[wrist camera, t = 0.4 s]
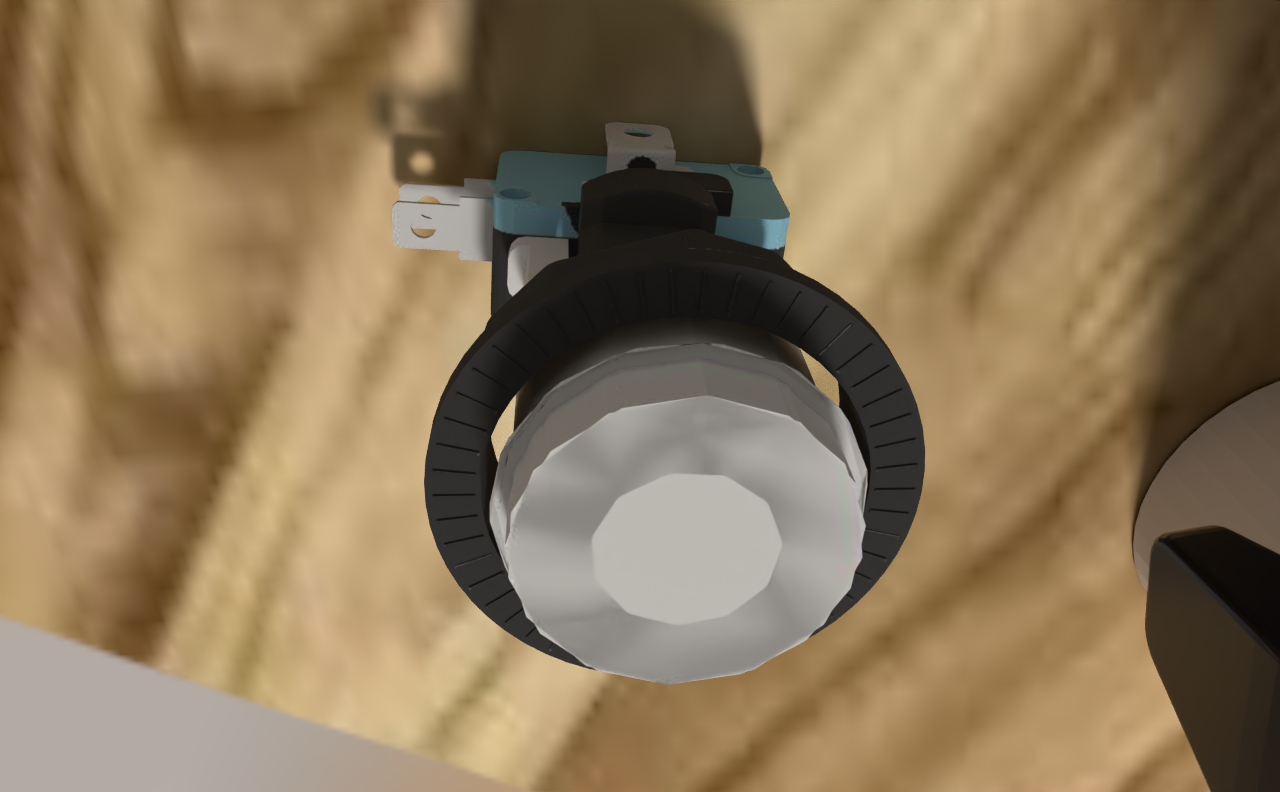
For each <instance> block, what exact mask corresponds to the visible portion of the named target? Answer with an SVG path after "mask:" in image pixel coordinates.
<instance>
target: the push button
mask: <svg viewBox="0 0 1280 792" xmlns="http://www.w3.org/2000/svg"><path fill="white" fill-rule="evenodd" d="M605 133H606V141H607V146H608V153H607V156H594V155H579V154H565V153H550V152H536V151H521V150H515V151H506V152H503V153H502V154H501V155H500V159H499V165H498V171H497V177H496V180H490V179H475V178H464V186H452V185H437V184H421V183H406V182H405V183H404V184H403V185H401V186H400V188H399V196H400V201H397V202H396V203H395V204H393V206H392V227H393V243H394V244H395V245H396V246H397V247H399V248H416V249H433V250H450V251H459V259H460V260H477V261H492V283H491V318H490V319H489V321H488V322H487V325H486V328H485V331H484V332H483V333H482V334H481V335H480V336H479V337H478V338H477V340H476V341H475V342H474V343H473V345H472V346H471V347H470V348H469V350H468V351H467V352H466V353H465V355H464V356H463V358H462V359H461V361H460V362H459V364H458V366H457V367H456V369H455V370H454V372H453V374H452V375H451V377H450V379H449V381H448V383H447V385H446V388H445V390H444V392H443V394H442V396H441V398H440V401H439V404H438V407H437V410H436V414H435V417H434V420H433V424H432V429H431V434H430V439H429V445H428V450H427V455H426V461H425V477H424V487H425V501H426V508H427V513H428V518H429V523H430V527H431V530H432V533H433V536H434V539H435V542H436V545H437V548H438V550H439V552H440V554H441V556H442V558H443V560H444V562H445V564H446V566H447V568H448V569H449V571H450V572H451V574H452V576H453V577H454V579H455V580H456V582H457V583H458V585H459V586H460V587H461V589H462V590H463V591H464V592H465V593H466V595H467V596H468V597H469V598H470V599H471V601H472V602H473V603H474V604H475V605H476V606H477V607H478V608H479V609H480V610H481V611H482V612H483V613H484V614H485V615H486V616H488V617H489V618H490V619H491V620H492V621H494V622H495V623H496V624H497V625H499V626H500V627H501V628H503V629H504V630H505V631H507V632H508V633H510V634H511V635H513V636H514V637H516V638H518V639H519V640H521V641H522V642H524V643H526V644H528V645H529V646H531V647H533V648H535V649H537V650H539V651H541V652H543V653H545V654H548V655H550V656H553V657H555V658H558V659H560V660H563V661H565V662H568V663H572V664H575V665H578V666H581V667H585V668H588V669H593V670H597V671H602V672H607V673H612V674H617V675H622V676H627V677H633V678H638V679H643V680H648V681H653V682H658V683H663V684H675V683H682V682H688V681H695V680H702V679H709V678H716V677H723V676H730V675H737V674H742V673H744V672H746V671H749V670H754V669H755V668H757V667H758V666H760V665H762V664H763V663H765V662H766V661H768V660H769V659H771V658H773V657H775V656H777V655H779V654H781V653H783V652H785V651H787V650H788V649H790V648H792V647H794V646H796V645H798V644H800V643H802V642H804V641H806V640H807V639H808V638H809V637H811V636H813V635H815V634H817V633H818V632H819V631H821V630H822V629H824V628H825V627H827V626H828V625H830V624H831V623H833V622H834V621H836V620H837V619H838V618H839V617H841V616H842V615H843V614H844V613H845V612H847V611H848V610H849V609H850V608H852V607H853V606H854V605H855V604H856V603H857V602H858V601H859V600H860V599H861V598H862V597H863V596H864V595H865V594H866V593H867V592H868V591H869V590H870V589H871V588H872V587H873V586H874V584H875V583H876V582H877V581H878V580H879V578H880V577H881V576H882V575H883V574H884V572H885V571H886V569H887V568H888V566H889V565H890V564H891V562H892V561H893V559H894V558H895V556H896V555H897V553H898V551H899V549H900V547H901V546H902V544H903V542H904V540H905V538H906V536H907V534H908V532H909V529H910V527H911V524H912V522H913V519H914V517H915V514H916V511H917V507H918V503H919V500H920V496H921V492H922V485H923V478H924V471H925V445H924V436H923V427H922V423H921V419H920V415H919V411H918V407H917V404H916V401H915V399H914V396H913V394H912V391H911V388H910V386H909V383H908V382H907V380H906V378H905V376H904V374H903V373H902V371H901V369H900V367H899V365H898V364H897V362H896V360H895V358H894V357H893V355H892V353H891V351H890V349H889V348H888V346H887V345H886V344H885V342H884V341H883V340H882V338H881V337H880V336H879V334H878V333H877V331H876V330H875V329H874V328H873V327H872V326H871V325H870V323H869V322H868V321H867V320H866V319H865V318H864V317H863V316H862V315H861V314H860V313H859V312H858V311H857V310H856V309H855V308H853V307H852V306H851V305H850V304H849V303H847V302H846V301H845V300H844V299H843V298H841V297H840V296H839V295H837V294H836V293H834V292H833V291H831V290H830V289H828V288H827V287H825V286H824V285H822V284H820V283H819V282H817V281H816V280H814V279H812V278H810V277H808V276H806V275H804V274H801V273H799V272H797V271H795V270H793V269H792V268H791V267H790V266H789V264H788V263H787V262H786V261H785V260H784V259H783V256H784V250H785V240H786V234H787V228H788V222H789V216H790V213H789V211H788V209H787V207H786V205H785V203H784V201H783V199H782V197H781V195H780V193H779V191H778V190H777V188H776V186H775V184H774V182H773V180H772V178H773V177H772V176H771V174H770V172H769V171H768V170H767V169H766V168H763V167H760V166H756V165H750V164H737V163H729V165H725V164H710V163H696V162H681V161H675V157H676V151H675V150H674V144H673V141H672V137H671V134H670V131H669V129H668V128H665V127H662V126H659V125H649V124H635V123H621V122H613V123H608V124H605ZM626 133H643V134H647V135H650V136H649V137H636V136H631V135H628V134H626ZM425 196H432V197H435V198H436V199H437V200H438V201H439V202H440V203H426V202H419V200H420V199H421V198H423V197H425ZM424 215H426V216H429V217H426V216H424ZM412 228H421V229H436V230H435V232H434V233H433V234H432V235H430V236H427V237H422V236H419V235H417V234H416V233H415V232H414V231H413V229H412ZM798 347H799V348H801V349H802V350H803V351H805V352H806V353H808V354H809V355H810V356H812V357H813V358H814V359H816V360H817V361H818V362H820V363H821V364H822V365H823V366H824V367H825V368H826V369H827V370H828V371H829V372H830V373H831V374H832V375H833V376H834V377H835V378H836V379H837V381H838V386H839V398H840V402H839V407H838V406H837V405H836V404H835V403H833V402H832V401H831V400H830V399H829V398H828V397H827V396H826V395H825V394H823V393H822V392H821V391H820V390H819V389H818V388H817V387H816V386H815V383H814V381H813V379H812V376H811V374H810V371H809V369H808V367H807V364H806V362H805V359H804V357H803V354H802V352H801V350H800V349H799V348H798ZM515 395H516V405H515V419H514V432H513V433H512V435H511V436H510V437H509V438H508V440H507V442H506V444H505V446H504V448H503V450H502V452H501V454H500V458H499V463H498V461H497V459H496V455H495V452H494V448H493V445H492V441H491V435H492V433H493V431H494V429H495V426H496V424H497V422H498V420H499V418H500V417H501V415H502V413H503V412H504V410H505V409H506V407H507V406H508V404H509V403H510V401H511V400H512V398H513V397H514V396H515Z"/></svg>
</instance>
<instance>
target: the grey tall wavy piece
mask: <svg viewBox="0 0 1280 792" xmlns="http://www.w3.org/2000/svg"><path fill="white" fill-rule="evenodd" d="M1208 525H1218V526H1222V527H1225V528H1228V529H1230V530H1232V531H1234V532H1236V533H1238V534H1240V535H1242V536H1244V537H1246V538H1248V539H1250V540H1252V541H1254V542H1256V543H1258V544H1260V545H1262V546H1264V547H1266V548H1268V549H1270V550H1272V551H1274V552H1276V553H1278V554H1280V381H1278V382H1276V383H1273V384H1271V385H1268V386H1266V387H1264V388H1261V389H1259V390H1257V391H1254V392H1252V393H1251V394H1249V395H1247V396H1245V397H1244V398H1242V399H1240V400H1238V401H1236V402H1235V403H1233V404H1231V405H1229V406H1228V407H1226V408H1225V409H1223V410H1222V411H1221V412H1219V413H1218V414H1216V415H1215V416H1214V417H1212V418H1211V419H1209V420H1208V421H1207V422H1205V423H1204V424H1203V425H1202V426H1201V427H1200V428H1198V429H1197V430H1196V431H1195V432H1194V433H1193V434H1192V435H1191V436H1190V437H1188V438H1187V439H1186V440H1185V441H1184V442H1183V443H1182V444H1181V445H1180V447H1179V448H1178V449H1177V450H1176V451H1175V452H1174V453H1173V455H1172V456H1171V457H1170V458H1169V459H1168V460H1167V461H1166V463H1165V464H1164V466H1163V467H1162V469H1161V470H1160V472H1159V473H1158V475H1157V476H1156V478H1155V479H1154V481H1153V482H1152V484H1151V486H1150V488H1149V490H1148V492H1147V494H1146V496H1145V498H1144V500H1143V502H1142V504H1141V508H1140V511H1139V514H1138V518H1137V521H1136V525H1135V532H1134V542H1133V551H1134V561H1135V567H1136V570H1137V573H1138V576H1139V579H1140V582H1141V584H1142V585H1143V587H1144V588H1145V590H1146V592H1147V589H1148V576H1149V562H1150V552H1151V547H1152V545H1153V542H1154V540H1155V539H1156V538H1157V537H1158V536H1160V535H1161V534H1163V533H1166V532H1172V531H1178V530H1184V529H1190V528H1196V527H1202V526H1208Z"/></svg>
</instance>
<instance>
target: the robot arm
mask: <svg viewBox="0 0 1280 792" xmlns="http://www.w3.org/2000/svg"><path fill="white" fill-rule="evenodd" d="M1145 631H1146V638H1147V643H1148V647H1149V650H1150V654H1151V657H1152V659H1153V662H1154V664H1155V666H1156V669H1157V671H1158V673H1159V676H1160V678H1161V680H1162V682H1163V685H1164V687H1165V689H1166V691H1167V694H1168V696H1169V698H1170V700H1171V703H1172V705H1173V707H1174V710H1175V712H1176V714H1177V716H1178V719H1179V721H1180V723H1181V725H1182V728H1183V730H1184V732H1185V735H1186V737H1187V739H1188V741H1189V744H1190V746H1191V748H1192V750H1193V753H1194V755H1195V757H1196V760H1197V762H1198V764H1199V766H1200V769H1201V771H1202V773H1203V775H1204V778H1205V780H1206V782H1207V784H1208V787H1209V789H1210V791H1211V792H1280V554H1278V553H1276V552H1274V551H1272V550H1270V549H1268V548H1266V547H1264V546H1262V545H1260V544H1258V543H1256V542H1254V541H1252V540H1250V539H1248V538H1246V537H1244V536H1242V535H1240V534H1238V533H1236V532H1234V531H1232V530H1230V529H1228V528H1225V527H1222V526H1218V525H1208V526H1202V527H1196V528H1190V529H1184V530H1178V531H1172V532H1166V533H1163V534H1161V535H1160V536H1158V537H1157V538H1156V539H1155V540H1154V542H1153V545H1152V547H1151V552H1150V562H1149V576H1148V589H1147V603H1146V617H1145Z"/></svg>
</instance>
